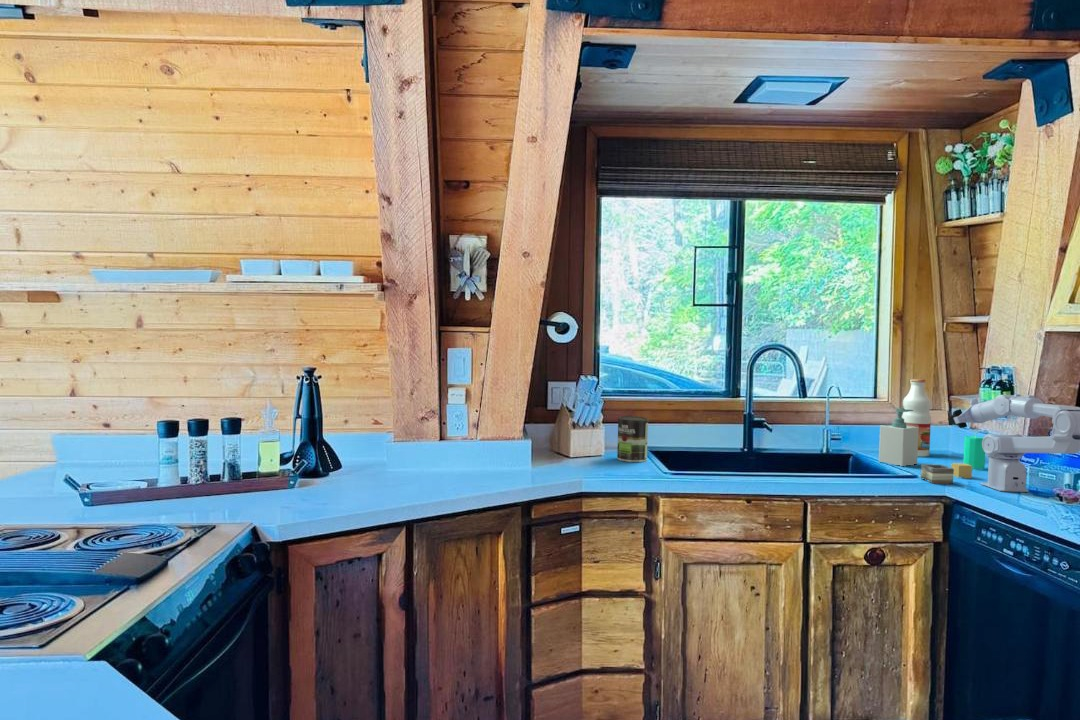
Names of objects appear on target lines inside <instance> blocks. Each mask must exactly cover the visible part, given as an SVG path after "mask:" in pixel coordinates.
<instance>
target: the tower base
mask: <svg viewBox="0 0 1080 720" xmlns="http://www.w3.org/2000/svg"><path fill="white" fill-rule="evenodd" d="M920 469H921V470H920V479H921V478H924V479H926V480H929V481H930V482H931V483H930V482H929V483H930V484H933V485H935V484H938V485H939V484H941V485H942V484H943V485H945V484H946V485H950V484H949V483H953V484H954V476H953V475H954V469H953V468H951V467H950V466H946V465H943V464H928V463H927V464H924V463H923V464H921V465H920Z"/></svg>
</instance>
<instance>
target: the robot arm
mask: <svg viewBox="0 0 1080 720" xmlns="http://www.w3.org/2000/svg"><path fill="white" fill-rule="evenodd" d="M969 402H970V403H969V404H970V406H968V408H966V409H965V410H964V411H962V409H956V410H954V411H953V412H952V415H950V416H949V417H948V418H947V420H948V422H949V425H951V426H957V427H958V428H959V429H964V428H967V427H968V425H967V424H969V423H970V424H983V423H984V424H985V422H989V421H994V420H997V419H1002V418H1005V417H1009V416H1014V417H1019V418H1020V417H1021V418H1025V419H1032V420H1033V419H1034V420H1035V419H1039V418H1040V417H1042V416H1043V417H1047V418H1052V419H1051V423H1052V424H1053V425H1052V430H1051V436H1049V435H1048V436H1023V435H1022V434H993V433H987V434H986V435H984V436H983V437H984V438H983V441H982V447H983V450H984V452H985V457H988V469H987V471H988V472H987V482H980V485H982V486H985V487H988V488H990V489H994V490H996V491H1000V492H1011V493H1012V492H1018V493H1020V492H1021V493H1022V492H1023V493H1026V492H1027V493H1028V491H1029V489H1027V488H1026V487H1027V485H1026V484H1027V467H1026V466H1025V464H1024V463H1022V462H1021V461H1020V459H1023V457H1022V456H1025V454H1073V455H1074V454H1077V453H1079V452H1080V406H1074V405H1065V404H1050V403H1044V401H1042V400H1041V399H1040V398H1038V397H1035V395H1030V394H1028V395H1025V396H1022V395H1021V394H1019V393H1018V394H1000V395H996V396H995V398H993V399H989V400H984V401H981V402H978V400H977V399H974V400H972V401H969Z"/></svg>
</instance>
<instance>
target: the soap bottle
mask: <svg viewBox="0 0 1080 720" xmlns="http://www.w3.org/2000/svg"><path fill="white" fill-rule="evenodd" d="M893 409H894V410H896V415H897V417H895V418H894V421H892V422H891V424H881V425H879V442H878V443H879V445H878V446H879V447H878V463H879V462H885V463H889V464H888V465H890V464H894V465H893V466H895V465H900V466H899V467H901V466H904V467H906V466H905V465H911V466H915V465H914V464H917V465H918V456H917V454H918V430H919V428H918V427H913V426H907V423H905V422H904V419H903V418H902V415H903V412H908V411H913V410H911V409H904V408H899V407H893ZM885 463H884V464H885Z"/></svg>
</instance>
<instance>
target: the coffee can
mask: <svg viewBox="0 0 1080 720" xmlns="http://www.w3.org/2000/svg"><path fill="white" fill-rule="evenodd" d="M617 424H618V425H617V452H616V453H617V455H616V456H617V457H616V459H617V460H618V461H621V462H626V463H644V462H647V461H648V436H649V434H648V433H649V432H648V431H649V418H646V417H644V416H643V417H642V416H619V417H618V418H617Z"/></svg>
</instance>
